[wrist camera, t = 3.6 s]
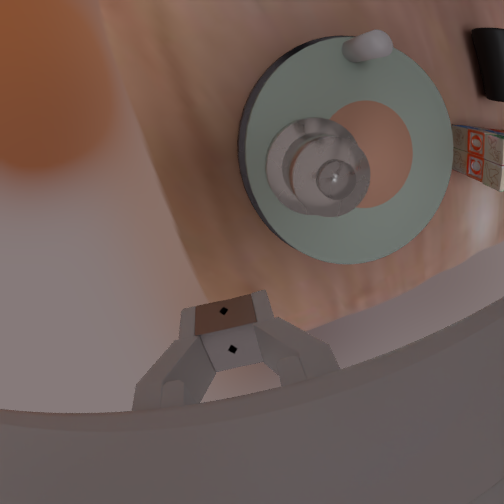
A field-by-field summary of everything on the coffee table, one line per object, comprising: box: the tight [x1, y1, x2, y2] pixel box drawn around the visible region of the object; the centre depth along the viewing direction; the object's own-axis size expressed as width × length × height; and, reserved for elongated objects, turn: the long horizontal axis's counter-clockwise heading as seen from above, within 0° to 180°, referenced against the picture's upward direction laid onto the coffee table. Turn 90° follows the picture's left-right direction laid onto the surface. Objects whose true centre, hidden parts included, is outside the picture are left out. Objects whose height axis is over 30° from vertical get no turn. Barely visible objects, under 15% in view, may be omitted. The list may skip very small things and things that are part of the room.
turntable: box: [245, 30, 453, 264], centre depth 25 cm, size 24×24×6 cm
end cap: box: [471, 28, 504, 102], centre depth 22 cm, size 10×7×7 cm
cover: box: [265, 117, 370, 217], centre depth 24 cm, size 9×9×6 cm
